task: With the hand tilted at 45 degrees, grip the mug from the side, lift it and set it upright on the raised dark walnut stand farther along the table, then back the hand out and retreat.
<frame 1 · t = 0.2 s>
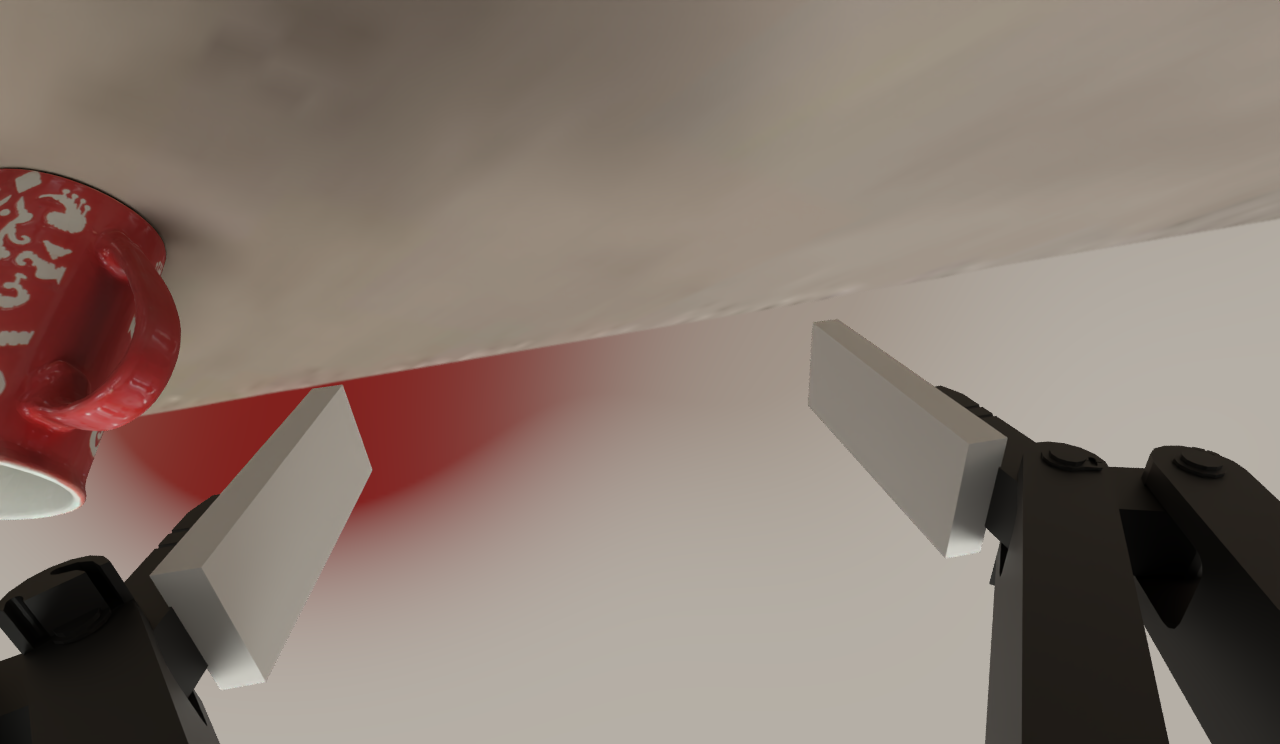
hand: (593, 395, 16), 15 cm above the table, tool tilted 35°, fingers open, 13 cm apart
mug: (111, 220, 28), on the table
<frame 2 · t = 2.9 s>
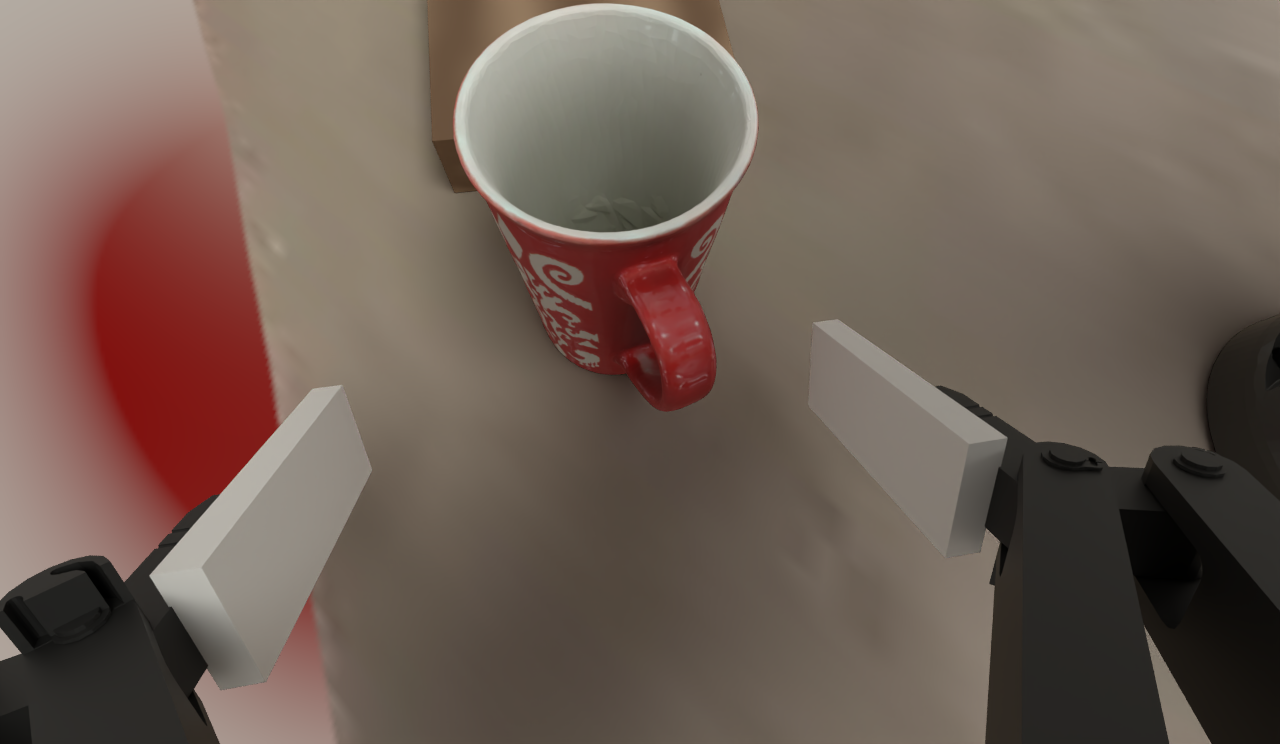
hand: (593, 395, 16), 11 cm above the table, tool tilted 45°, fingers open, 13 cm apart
mug: (621, 341, 29), on the table
walnut stand: (581, 72, 34), on the table
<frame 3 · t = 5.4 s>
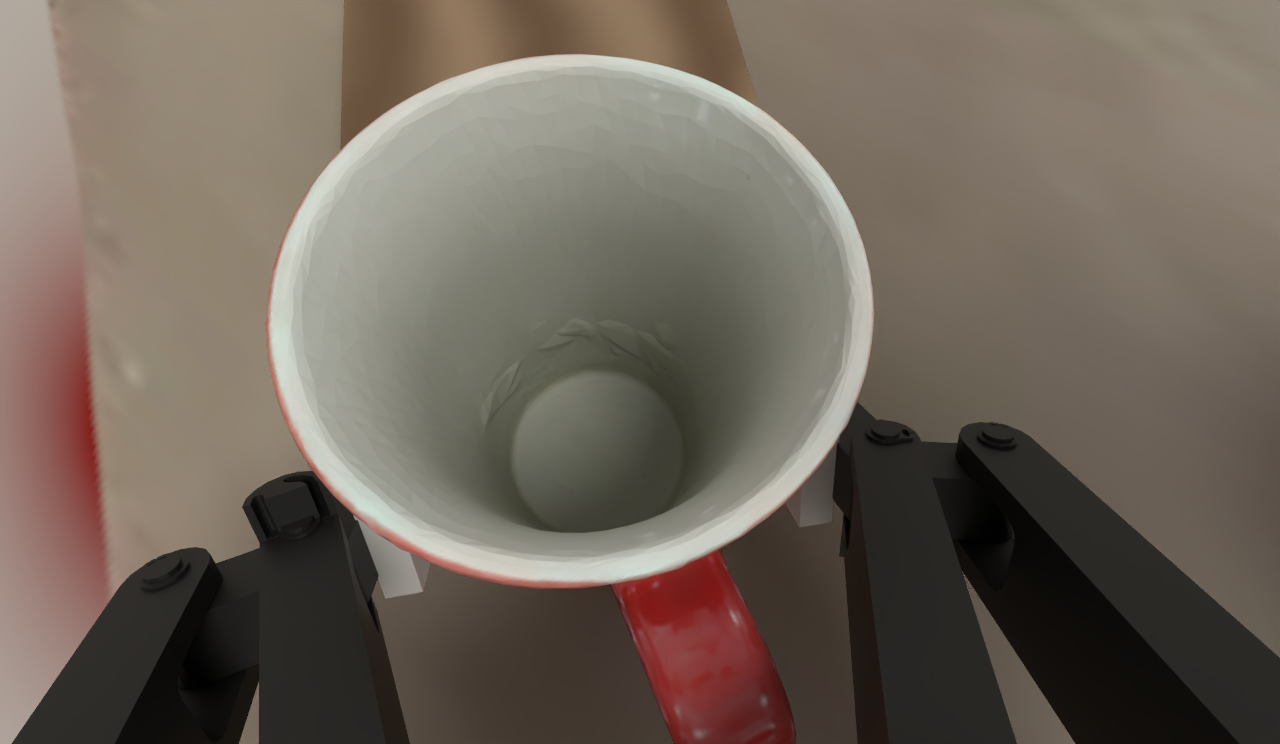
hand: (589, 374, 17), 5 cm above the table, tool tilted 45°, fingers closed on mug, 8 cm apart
mug: (609, 503, 20), on the table, touching gripper
walnut stand: (555, 121, 26), on the table
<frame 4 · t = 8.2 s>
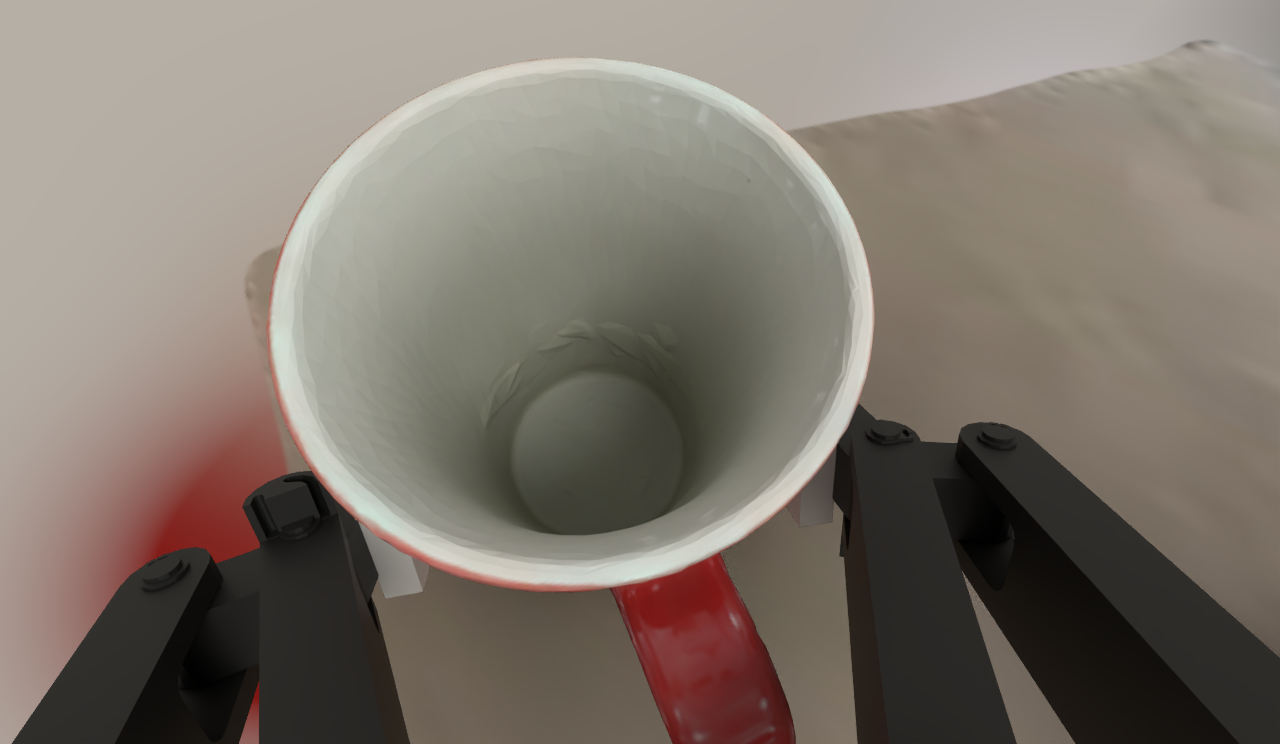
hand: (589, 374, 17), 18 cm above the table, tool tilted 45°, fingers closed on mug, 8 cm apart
mug: (609, 504, 20), point 14 cm above the table, touching gripper
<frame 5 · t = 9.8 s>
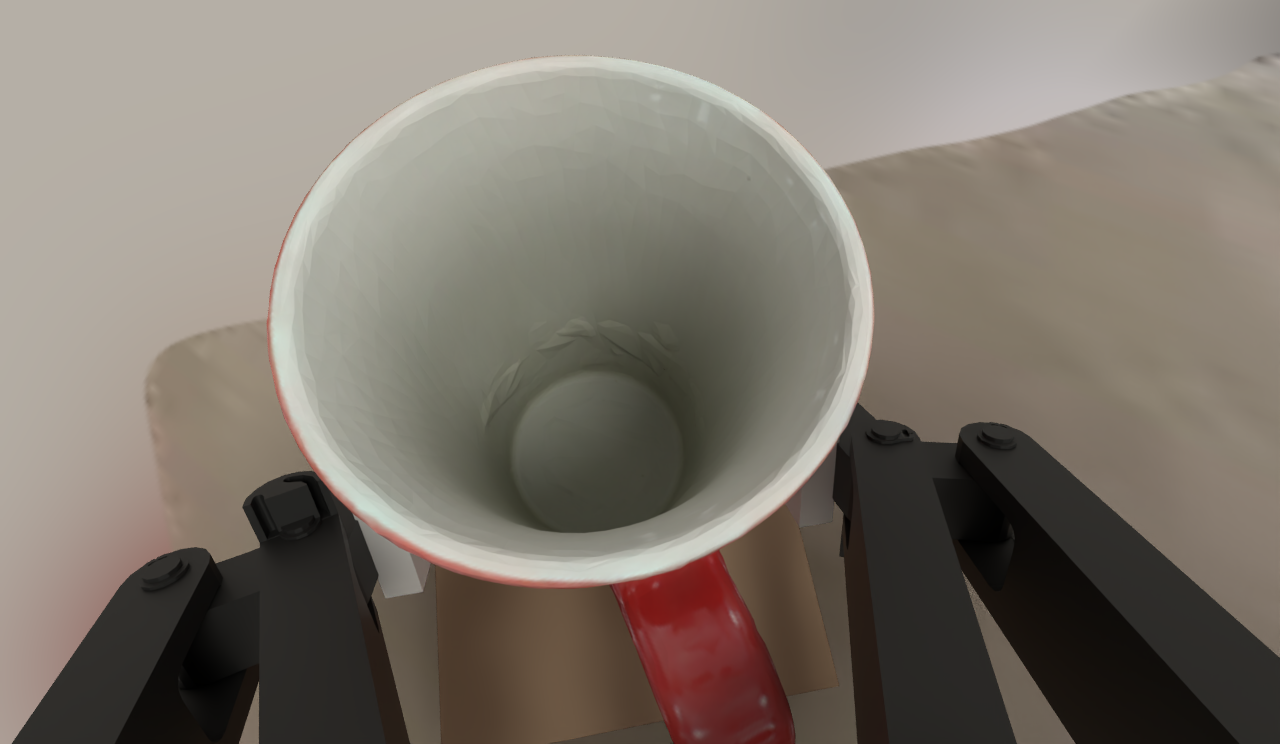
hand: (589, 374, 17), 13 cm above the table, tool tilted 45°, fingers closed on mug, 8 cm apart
mug: (609, 503, 20), point 8 cm above the table, touching gripper
walnut stand: (617, 526, 28), on the table
when the fingers open (10 cm above the table, at t = 11.2 s): mug drops 1 cm, resting on walnut stand.
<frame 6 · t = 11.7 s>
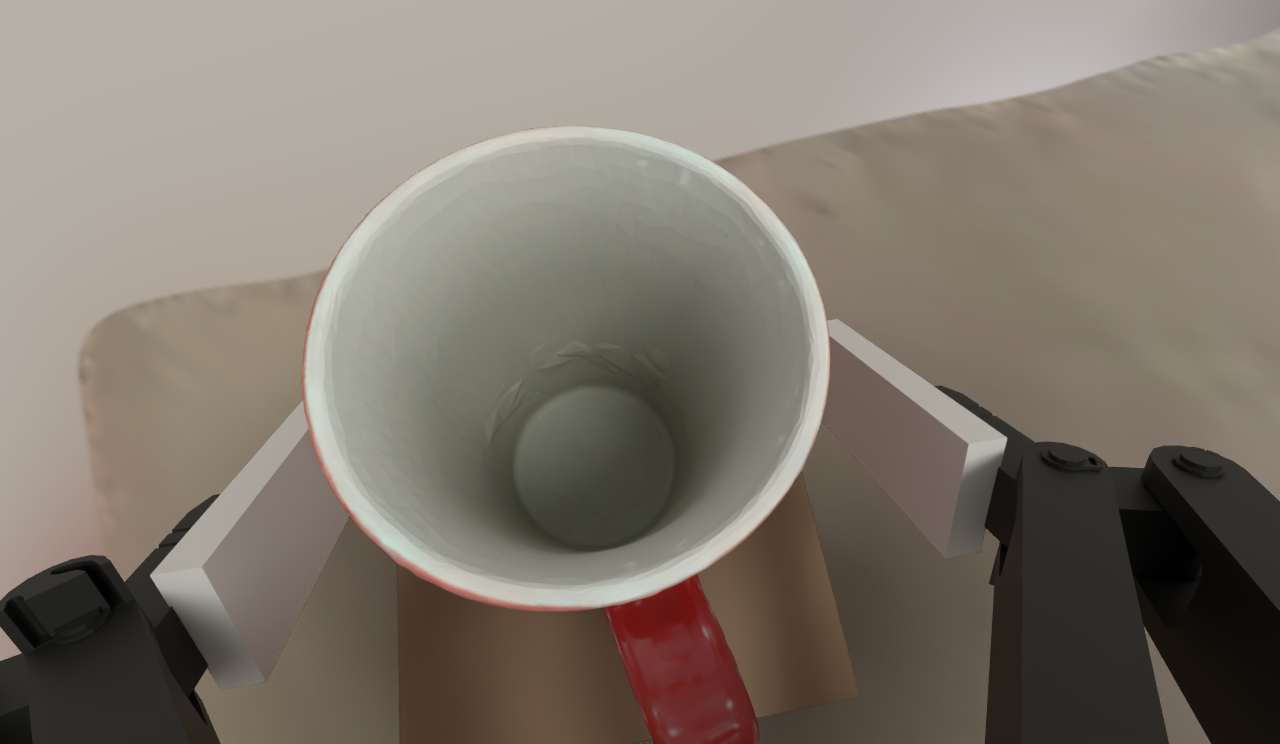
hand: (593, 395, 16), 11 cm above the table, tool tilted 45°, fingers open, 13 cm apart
mug: (606, 510, 22), point 4 cm above the table, touching walnut stand
walnut stand: (607, 516, 25), on the table
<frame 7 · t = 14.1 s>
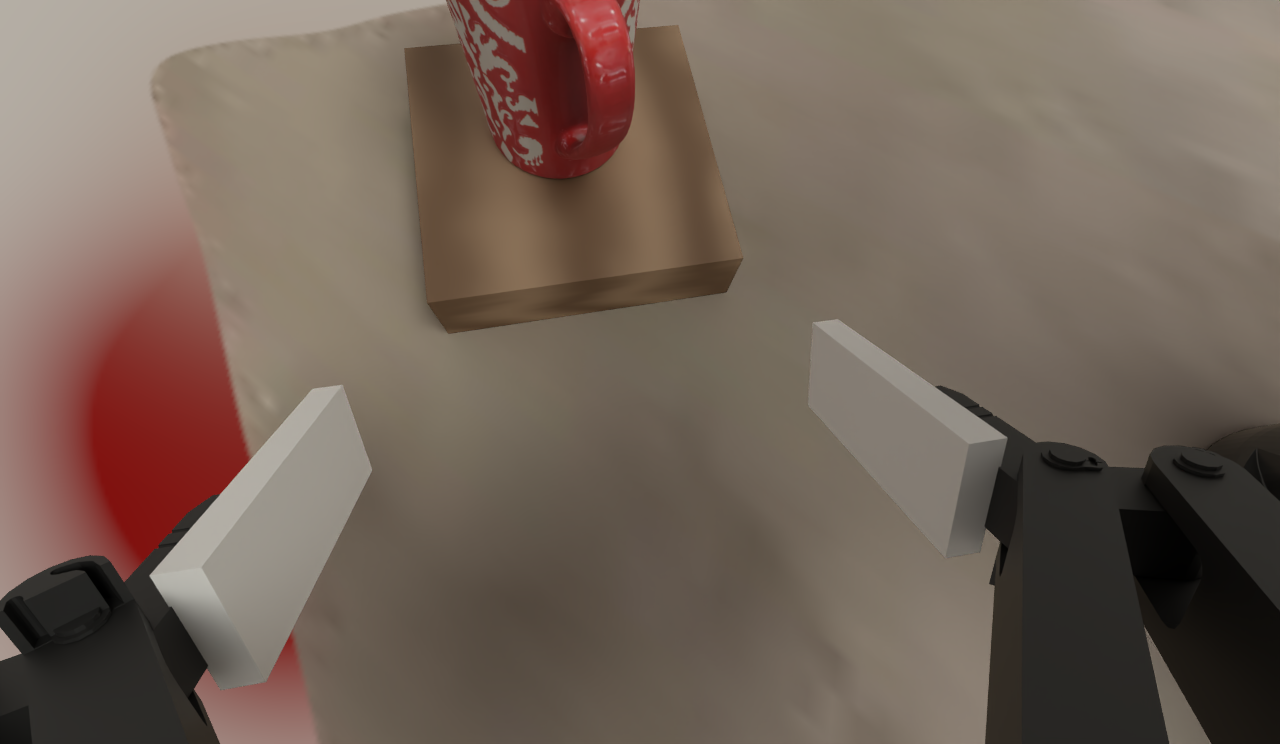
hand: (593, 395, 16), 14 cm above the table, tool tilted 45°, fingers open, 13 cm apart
mug: (565, 152, 30), point 4 cm above the table, touching walnut stand
walnut stand: (570, 193, 34), on the table
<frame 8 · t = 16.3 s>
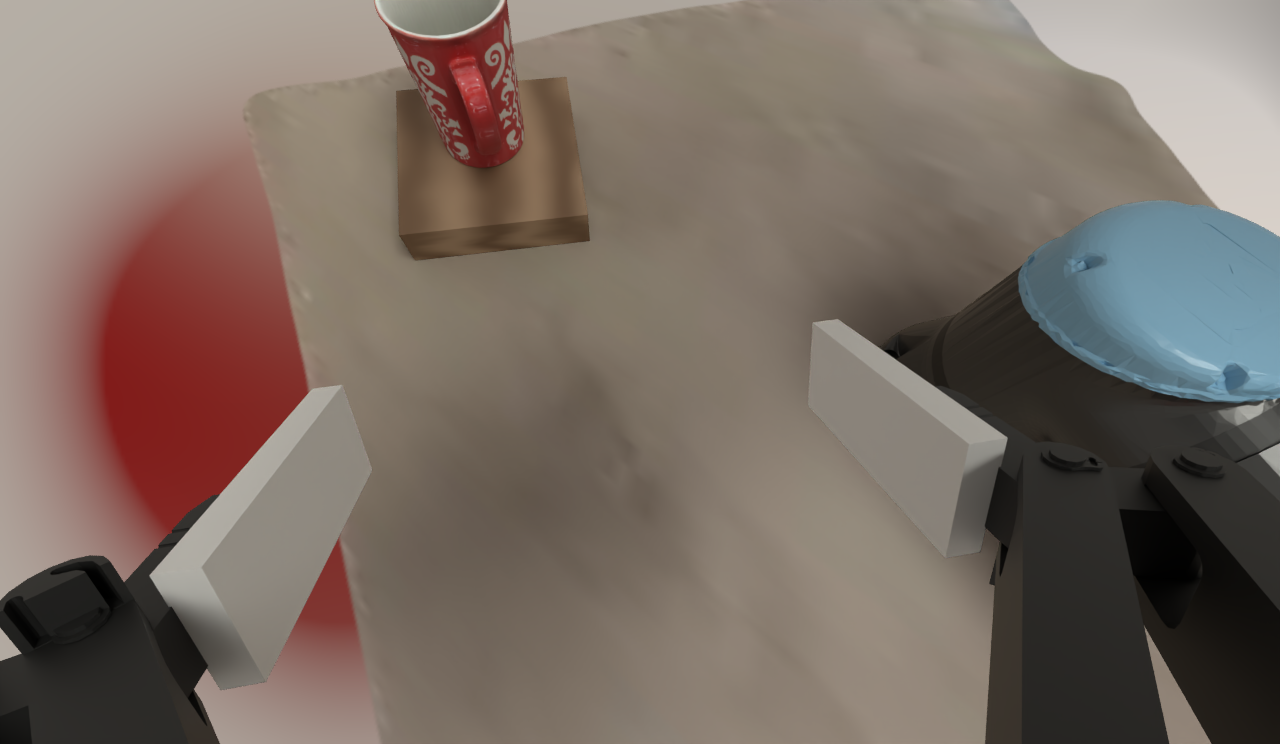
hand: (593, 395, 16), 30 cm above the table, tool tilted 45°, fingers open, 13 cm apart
mug: (488, 153, 50), point 4 cm above the table, touching walnut stand
walnut stand: (497, 180, 54), on the table
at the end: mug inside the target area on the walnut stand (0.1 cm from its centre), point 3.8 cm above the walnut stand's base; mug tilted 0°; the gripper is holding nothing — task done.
